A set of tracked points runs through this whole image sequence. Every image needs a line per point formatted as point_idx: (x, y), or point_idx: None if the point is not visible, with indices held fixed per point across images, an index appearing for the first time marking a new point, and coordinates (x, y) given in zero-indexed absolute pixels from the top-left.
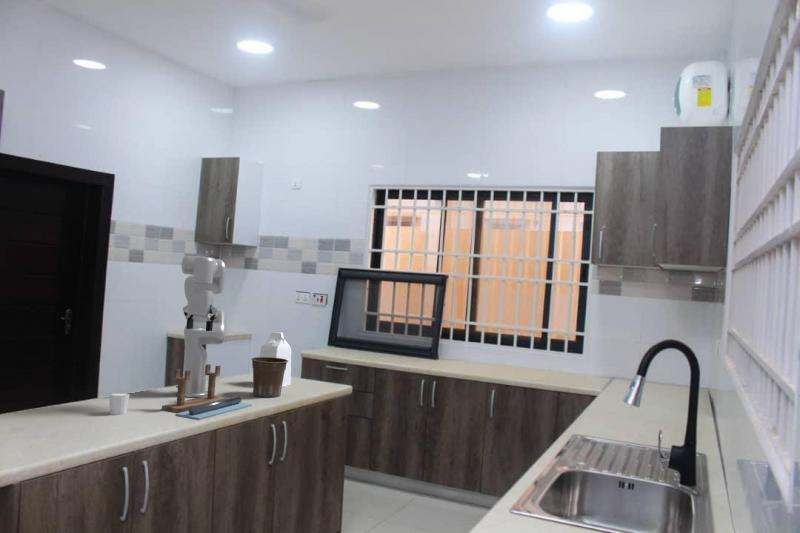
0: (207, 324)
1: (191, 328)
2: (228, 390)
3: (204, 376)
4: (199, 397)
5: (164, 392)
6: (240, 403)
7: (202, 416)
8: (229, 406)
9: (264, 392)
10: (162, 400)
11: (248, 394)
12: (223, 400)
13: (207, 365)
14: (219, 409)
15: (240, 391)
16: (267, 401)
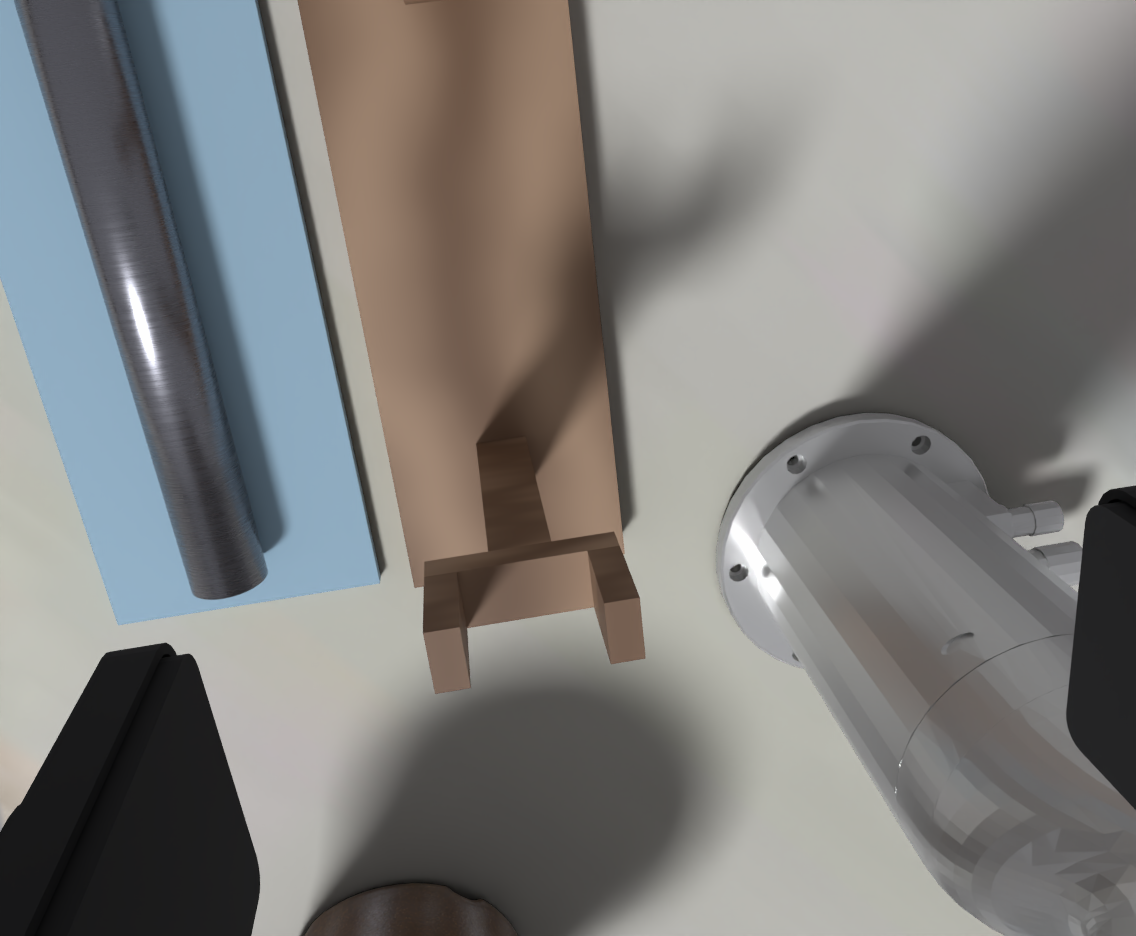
0: (2, 854)
1: (1073, 670)
2: (760, 861)
3: (815, 679)
4: (608, 408)
5: (1109, 418)
6: None
7: None
8: None
9: (336, 931)
10: (875, 149)
11: (527, 881)
12: (129, 338)
13: (603, 599)
14: None
15: (662, 904)
16: None
